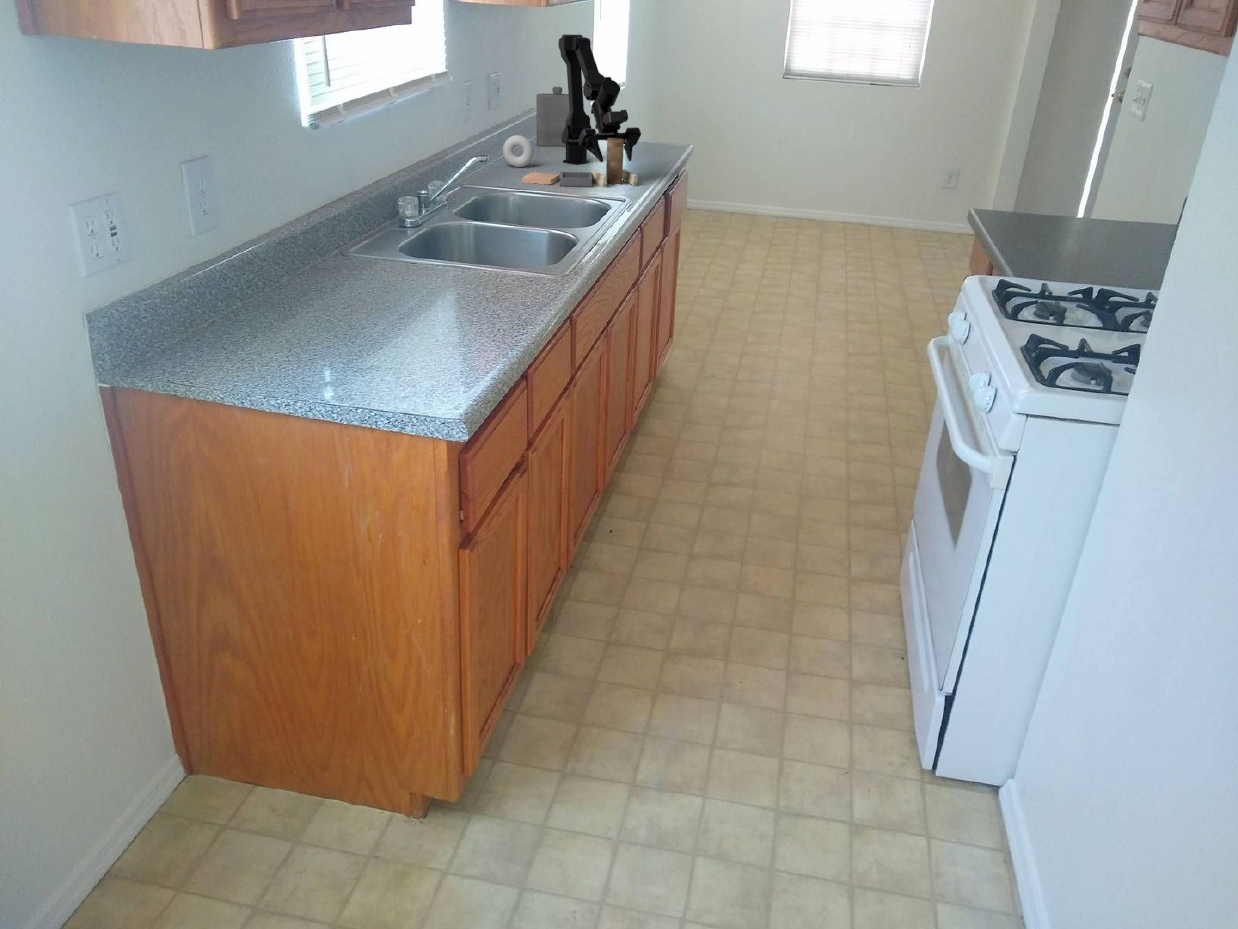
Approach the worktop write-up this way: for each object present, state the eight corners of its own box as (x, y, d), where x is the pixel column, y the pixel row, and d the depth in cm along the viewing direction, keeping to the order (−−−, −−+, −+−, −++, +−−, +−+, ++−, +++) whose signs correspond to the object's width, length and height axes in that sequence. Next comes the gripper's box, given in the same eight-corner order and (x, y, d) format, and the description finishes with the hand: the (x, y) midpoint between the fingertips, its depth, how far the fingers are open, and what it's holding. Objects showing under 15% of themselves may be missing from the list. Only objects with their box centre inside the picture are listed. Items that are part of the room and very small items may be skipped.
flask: (577, 144, 350) (577, 86, 341) (578, 147, 345) (579, 88, 336) (536, 143, 349) (536, 85, 339) (537, 146, 344) (536, 87, 334)
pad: (532, 176, 295) (532, 171, 295) (560, 179, 293) (560, 174, 293) (522, 182, 288) (522, 177, 287) (550, 184, 286) (550, 179, 285)
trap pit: (560, 179, 293) (560, 171, 292) (591, 180, 293) (591, 172, 292) (559, 186, 284) (559, 177, 283) (591, 187, 285) (591, 178, 284)
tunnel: (591, 180, 293) (591, 170, 292) (624, 179, 297) (624, 169, 296) (603, 187, 285) (603, 177, 284) (637, 185, 289) (637, 175, 288)
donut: (534, 166, 310) (534, 134, 305) (532, 168, 307) (532, 136, 302) (504, 165, 310) (503, 133, 306) (502, 167, 307) (501, 135, 303)
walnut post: (602, 183, 291) (603, 138, 284) (612, 180, 294) (613, 137, 288) (615, 185, 288) (617, 141, 282) (625, 183, 292) (627, 139, 286)
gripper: (582, 100, 280) (594, 145, 276) (640, 99, 287) (653, 143, 283) (572, 124, 290) (584, 168, 286) (629, 122, 297) (641, 165, 293)
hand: (616, 160), depth 287 cm, fingers open, 9 cm apart
